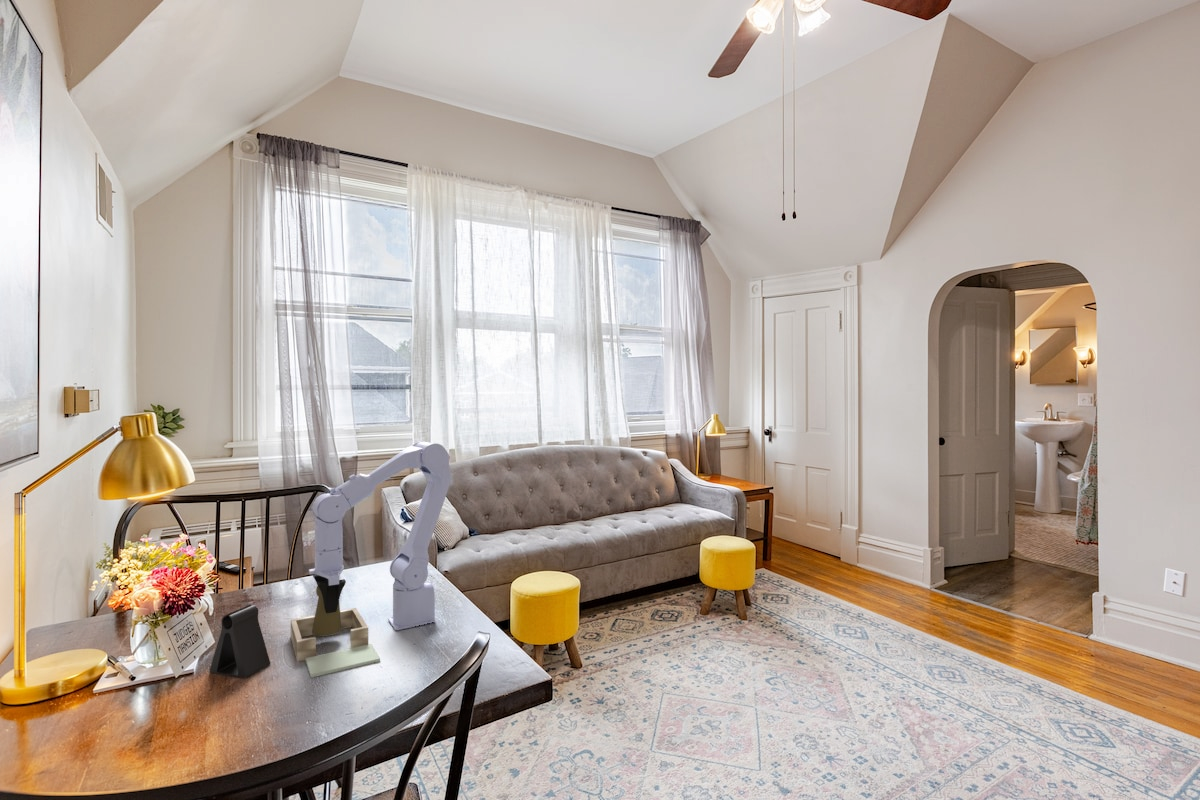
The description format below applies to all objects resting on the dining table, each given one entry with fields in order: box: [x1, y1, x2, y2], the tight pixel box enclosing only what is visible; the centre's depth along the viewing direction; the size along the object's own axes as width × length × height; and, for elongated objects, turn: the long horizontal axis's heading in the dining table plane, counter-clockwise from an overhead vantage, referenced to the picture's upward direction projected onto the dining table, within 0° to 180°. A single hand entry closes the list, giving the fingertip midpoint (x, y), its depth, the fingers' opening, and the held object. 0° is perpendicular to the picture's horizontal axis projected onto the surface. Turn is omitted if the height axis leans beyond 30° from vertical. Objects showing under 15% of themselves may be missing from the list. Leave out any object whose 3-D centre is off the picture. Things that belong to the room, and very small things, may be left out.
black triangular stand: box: [208, 604, 271, 680], centre depth 117 cm, size 9×6×12 cm, turn 75°
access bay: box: [290, 607, 369, 662], centre depth 130 cm, size 14×14×4 cm
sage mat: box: [305, 643, 381, 678], centre depth 121 cm, size 13×8×1 cm, turn 123°
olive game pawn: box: [312, 585, 342, 637], centre depth 130 cm, size 6×6×11 cm
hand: (329, 608), depth 130 cm, fingers closed on olive game pawn, 5 cm apart
